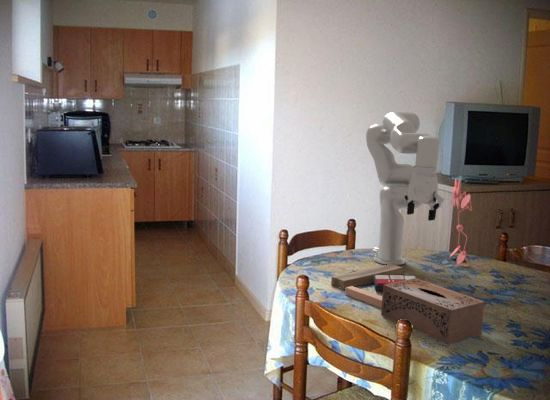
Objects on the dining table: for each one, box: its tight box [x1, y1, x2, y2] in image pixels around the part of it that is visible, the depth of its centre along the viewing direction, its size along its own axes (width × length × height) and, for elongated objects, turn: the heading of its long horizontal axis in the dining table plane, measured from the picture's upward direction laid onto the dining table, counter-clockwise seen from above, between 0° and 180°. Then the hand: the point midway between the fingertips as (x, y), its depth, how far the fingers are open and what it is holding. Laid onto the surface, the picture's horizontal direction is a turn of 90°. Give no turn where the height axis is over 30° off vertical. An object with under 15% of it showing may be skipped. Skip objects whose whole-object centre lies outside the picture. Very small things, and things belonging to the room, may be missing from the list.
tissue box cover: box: [380, 277, 485, 345], centre depth 179 cm, size 26×14×10 cm, turn 35°
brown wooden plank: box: [330, 264, 404, 290], centre depth 222 cm, size 6×32×3 cm, turn 129°
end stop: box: [344, 286, 382, 309], centre depth 199 cm, size 16×3×2 cm, turn 39°
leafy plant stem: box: [433, 178, 473, 268], centre depth 249 cm, size 15×26×35 cm, turn 175°
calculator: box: [373, 274, 417, 294], centre depth 213 cm, size 11×4×15 cm
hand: (420, 217), depth 220 cm, fingers open, 9 cm apart
